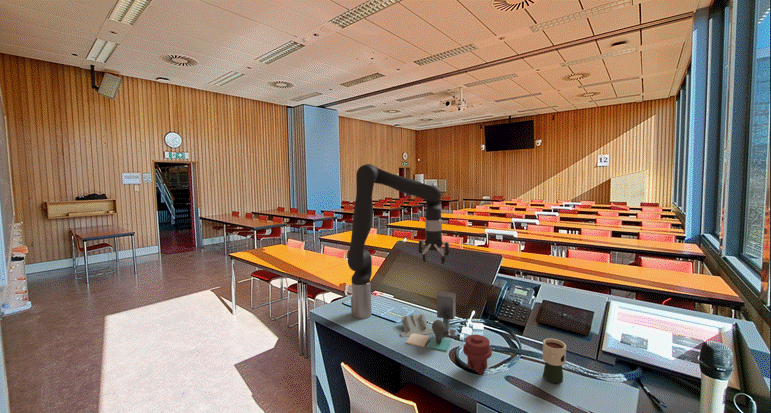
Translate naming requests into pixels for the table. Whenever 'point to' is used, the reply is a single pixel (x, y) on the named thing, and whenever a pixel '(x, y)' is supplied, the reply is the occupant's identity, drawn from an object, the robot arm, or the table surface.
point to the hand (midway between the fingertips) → (433, 262)
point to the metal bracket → (415, 325)
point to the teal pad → (442, 346)
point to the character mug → (554, 359)
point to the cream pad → (417, 339)
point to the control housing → (446, 310)
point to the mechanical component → (477, 352)
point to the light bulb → (438, 330)
